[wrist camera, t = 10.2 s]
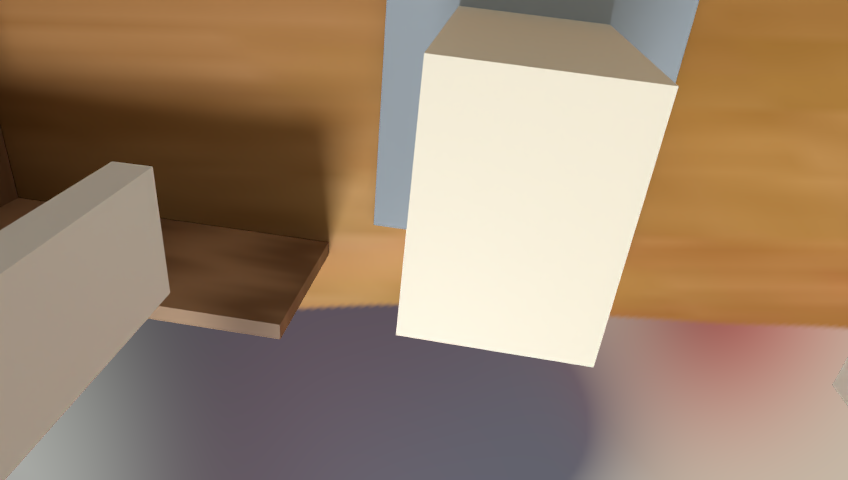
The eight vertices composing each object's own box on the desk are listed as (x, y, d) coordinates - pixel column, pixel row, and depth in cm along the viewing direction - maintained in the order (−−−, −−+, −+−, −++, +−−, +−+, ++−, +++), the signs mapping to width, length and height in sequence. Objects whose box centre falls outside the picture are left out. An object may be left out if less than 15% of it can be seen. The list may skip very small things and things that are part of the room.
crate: (8, 208, 26) (-118, 276, 21) (-87, -156, 20) (-301, -188, 15) (328, 254, 25) (280, 339, 20) (335, -114, 19) (266, -133, 14)
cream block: (435, 197, 23) (396, 335, 15) (458, 5, 20) (424, 52, 12) (564, 216, 23) (593, 367, 15) (609, 24, 19) (678, 86, 11)
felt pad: (375, 220, 24) (373, 224, 24) (391, -50, 20) (389, -50, 19) (622, 255, 24) (624, 260, 23) (700, -17, 19) (703, -16, 19)
